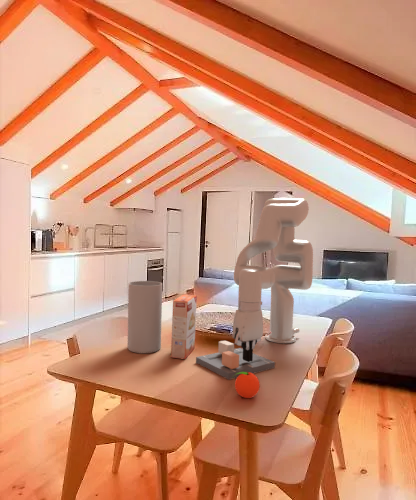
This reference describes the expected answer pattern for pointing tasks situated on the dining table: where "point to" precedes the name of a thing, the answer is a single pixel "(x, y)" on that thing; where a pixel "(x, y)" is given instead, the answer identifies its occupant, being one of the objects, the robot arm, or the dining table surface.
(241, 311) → the robot arm
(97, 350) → the dining table surface
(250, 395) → the clementine
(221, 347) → the ivory fader
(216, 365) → the fader panel
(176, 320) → the cracker box
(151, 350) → the cylinder vase
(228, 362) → the terracotta fader
